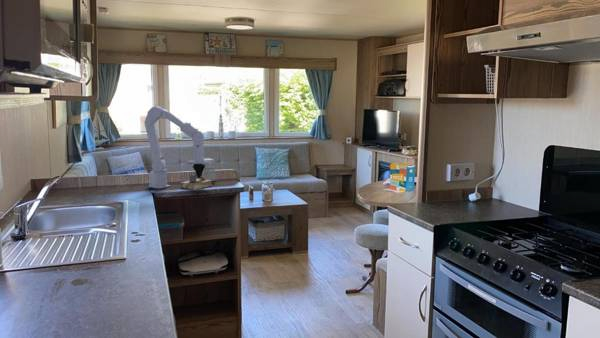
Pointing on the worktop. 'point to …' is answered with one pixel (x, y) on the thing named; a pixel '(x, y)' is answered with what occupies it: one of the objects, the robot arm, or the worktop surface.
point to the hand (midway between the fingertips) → (199, 177)
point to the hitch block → (196, 184)
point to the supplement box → (209, 170)
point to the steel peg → (192, 178)
